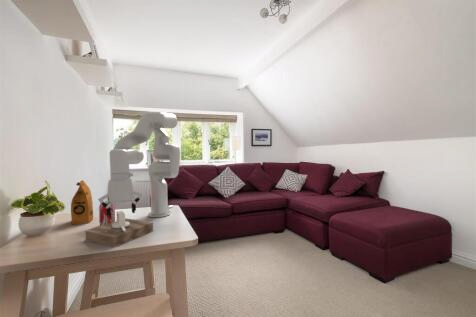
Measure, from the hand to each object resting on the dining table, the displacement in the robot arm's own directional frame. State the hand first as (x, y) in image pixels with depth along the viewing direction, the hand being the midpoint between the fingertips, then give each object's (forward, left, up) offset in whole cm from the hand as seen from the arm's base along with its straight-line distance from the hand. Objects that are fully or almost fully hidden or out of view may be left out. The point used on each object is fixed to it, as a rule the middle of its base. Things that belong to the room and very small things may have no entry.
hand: (121, 214), depth 103 cm
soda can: (-6, -19, -10) cm, 22 cm away
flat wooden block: (+1, 0, -9) cm, 9 cm away
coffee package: (-5, -38, -10) cm, 39 cm away
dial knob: (+2, +3, -5) cm, 6 cm away
